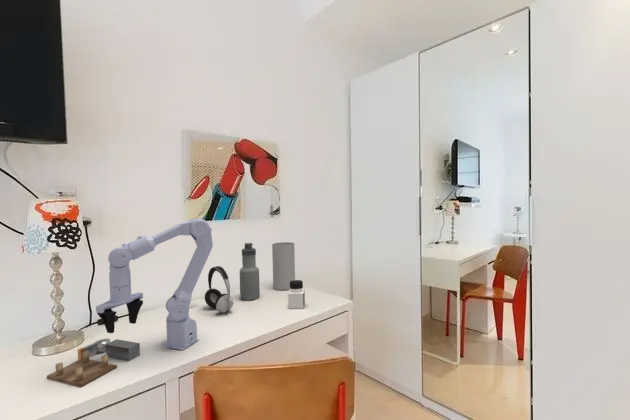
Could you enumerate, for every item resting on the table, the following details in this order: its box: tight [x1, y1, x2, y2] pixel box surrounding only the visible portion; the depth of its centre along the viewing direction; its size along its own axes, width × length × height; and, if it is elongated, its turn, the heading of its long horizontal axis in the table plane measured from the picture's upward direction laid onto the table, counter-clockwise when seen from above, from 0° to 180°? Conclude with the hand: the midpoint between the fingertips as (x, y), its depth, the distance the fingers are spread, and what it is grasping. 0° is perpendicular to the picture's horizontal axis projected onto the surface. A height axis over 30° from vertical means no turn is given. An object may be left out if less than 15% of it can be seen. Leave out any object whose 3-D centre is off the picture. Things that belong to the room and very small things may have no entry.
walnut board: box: [46, 351, 118, 388], centre depth 89 cm, size 14×10×4 cm
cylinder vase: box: [271, 241, 296, 291], centre depth 175 cm, size 12×12×25 cm
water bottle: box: [239, 242, 261, 301], centre depth 157 cm, size 10×10×28 cm
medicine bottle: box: [287, 279, 306, 310], centre depth 143 cm, size 7×7×12 cm
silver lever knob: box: [77, 338, 111, 361], centre depth 100 cm, size 4×9×4 cm, turn 161°
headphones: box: [204, 265, 234, 313], centre depth 140 cm, size 19×8×20 cm, turn 44°
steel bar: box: [105, 338, 141, 362], centre depth 98 cm, size 10×4×4 cm, turn 71°
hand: (122, 327), depth 98 cm, fingers open, 7 cm apart
